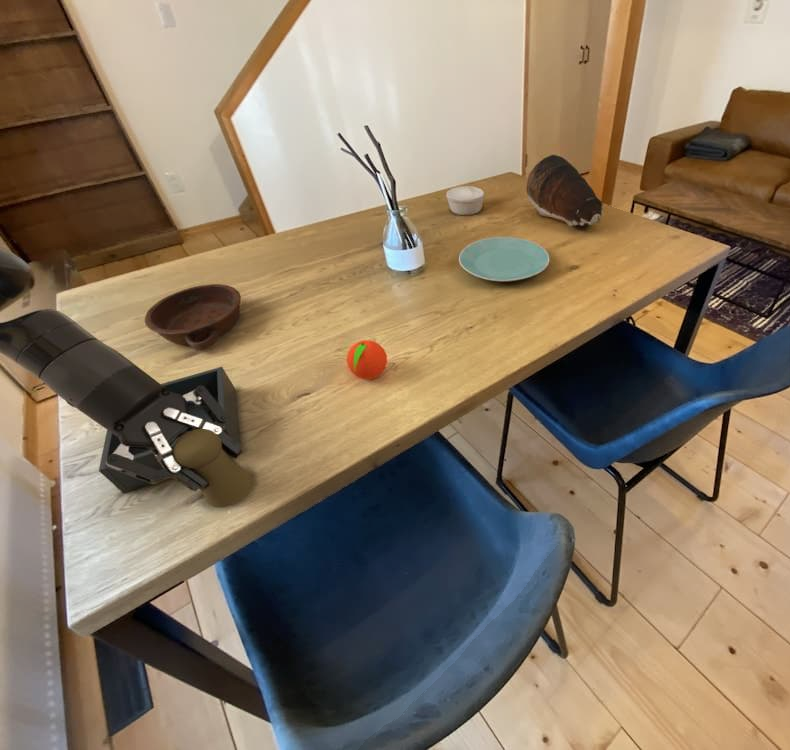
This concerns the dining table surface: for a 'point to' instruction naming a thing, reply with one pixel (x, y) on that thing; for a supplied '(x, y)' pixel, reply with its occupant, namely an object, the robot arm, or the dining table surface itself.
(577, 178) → the taro root
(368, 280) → the dining table surface
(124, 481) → the bin
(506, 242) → the plate
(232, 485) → the cork
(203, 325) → the dish
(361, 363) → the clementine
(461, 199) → the ramekin
